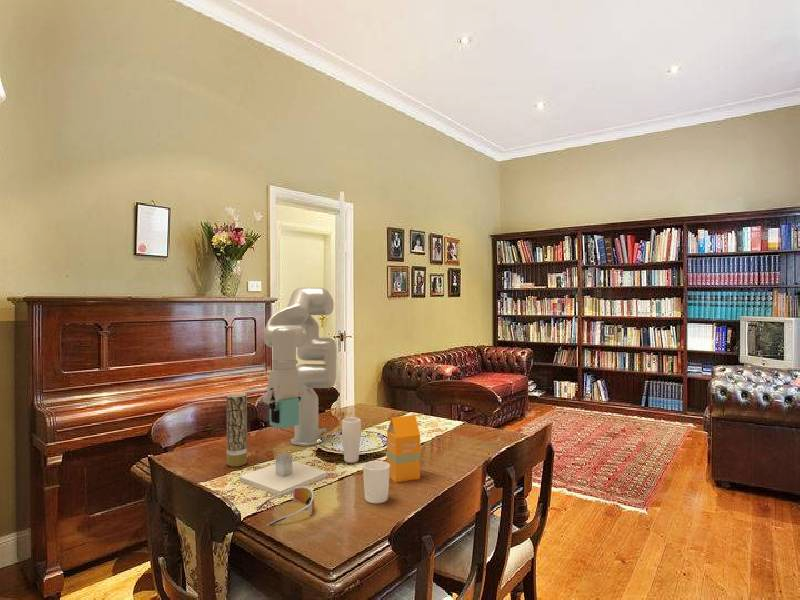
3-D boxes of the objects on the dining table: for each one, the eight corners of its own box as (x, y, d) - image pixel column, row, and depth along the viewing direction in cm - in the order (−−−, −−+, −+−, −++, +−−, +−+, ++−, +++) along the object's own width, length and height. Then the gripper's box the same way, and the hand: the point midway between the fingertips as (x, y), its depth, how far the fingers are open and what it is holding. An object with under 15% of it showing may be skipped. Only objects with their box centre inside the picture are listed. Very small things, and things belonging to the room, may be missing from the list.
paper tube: (240, 468, 170) (240, 396, 170) (222, 466, 171) (222, 395, 171) (250, 461, 176) (250, 392, 176) (233, 460, 178) (233, 391, 178)
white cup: (379, 506, 140) (380, 471, 139) (357, 500, 144) (357, 466, 144) (394, 497, 146) (394, 463, 146) (373, 491, 150) (373, 459, 150)
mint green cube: (285, 421, 165) (285, 395, 165) (298, 424, 161) (298, 398, 161) (269, 425, 159) (269, 398, 159) (283, 428, 155) (283, 401, 155)
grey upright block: (284, 471, 163) (284, 453, 163) (292, 473, 161) (292, 455, 161) (275, 474, 160) (275, 456, 160) (283, 477, 158) (283, 458, 158)
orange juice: (386, 474, 165) (386, 415, 164) (410, 470, 168) (410, 412, 168) (395, 482, 157) (395, 420, 157) (420, 478, 161) (420, 417, 161)
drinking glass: (363, 458, 180) (363, 418, 180) (356, 465, 173) (356, 422, 173) (346, 456, 182) (347, 416, 182) (338, 462, 176) (338, 421, 175)
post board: (287, 463, 174) (287, 459, 174) (327, 476, 162) (327, 471, 162) (239, 480, 158) (239, 476, 158) (280, 496, 146) (280, 491, 146)
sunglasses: (324, 514, 135) (321, 497, 134) (270, 537, 127) (268, 518, 126) (304, 496, 147) (301, 480, 146) (254, 516, 139) (251, 499, 138)
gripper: (296, 361, 169) (296, 413, 169) (254, 367, 155) (254, 423, 155) (311, 363, 165) (311, 416, 165) (270, 369, 151) (270, 427, 151)
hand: (284, 419), depth 160 cm, fingers closed on mint green cube, 6 cm apart
